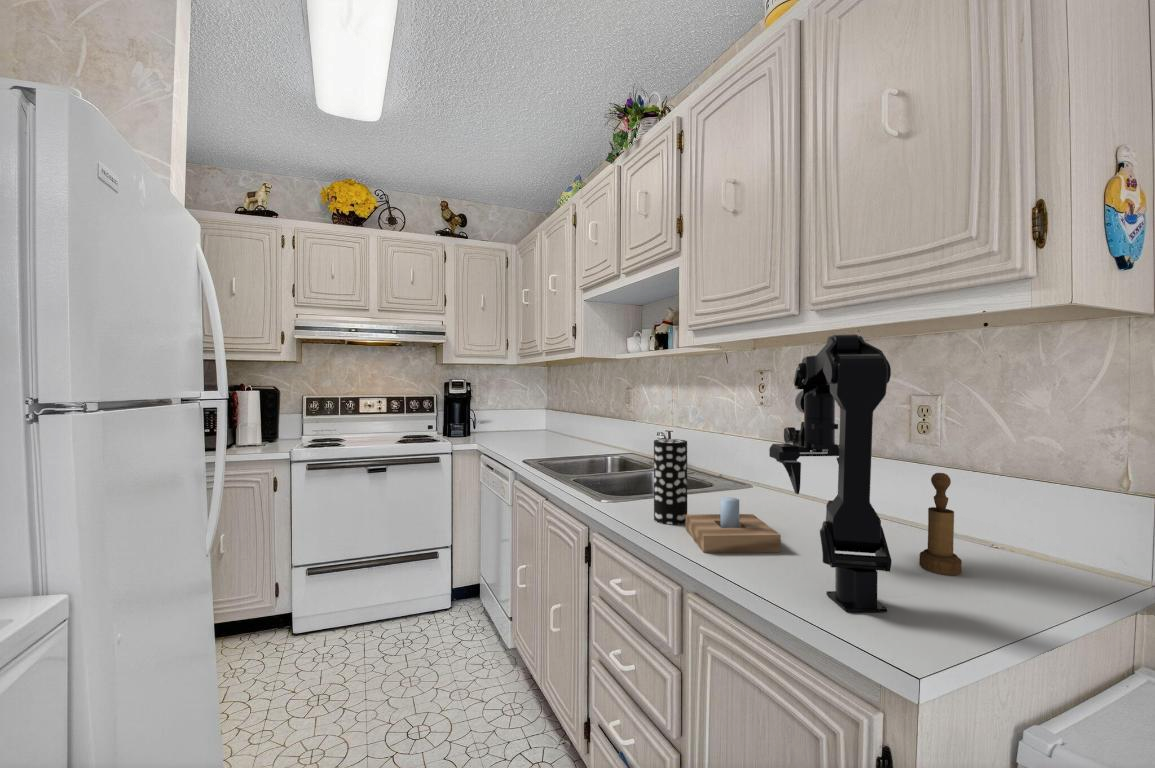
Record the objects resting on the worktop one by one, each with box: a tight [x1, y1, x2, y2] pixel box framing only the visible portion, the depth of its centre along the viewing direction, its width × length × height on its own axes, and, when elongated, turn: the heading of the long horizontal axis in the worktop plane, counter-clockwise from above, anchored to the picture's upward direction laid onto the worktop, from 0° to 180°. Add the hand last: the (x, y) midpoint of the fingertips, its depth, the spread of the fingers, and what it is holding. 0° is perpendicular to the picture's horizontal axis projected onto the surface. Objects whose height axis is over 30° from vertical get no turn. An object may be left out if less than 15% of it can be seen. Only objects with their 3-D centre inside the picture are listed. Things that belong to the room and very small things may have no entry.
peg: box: [720, 497, 740, 528], centre depth 113 cm, size 4×4×9 cm
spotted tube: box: [653, 438, 688, 526], centre depth 129 cm, size 8×8×20 cm
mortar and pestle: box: [918, 472, 963, 576], centre depth 96 cm, size 7×6×18 cm
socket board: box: [685, 513, 782, 554], centre depth 113 cm, size 16×16×4 cm
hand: (819, 493), depth 105 cm, fingers open, 9 cm apart
